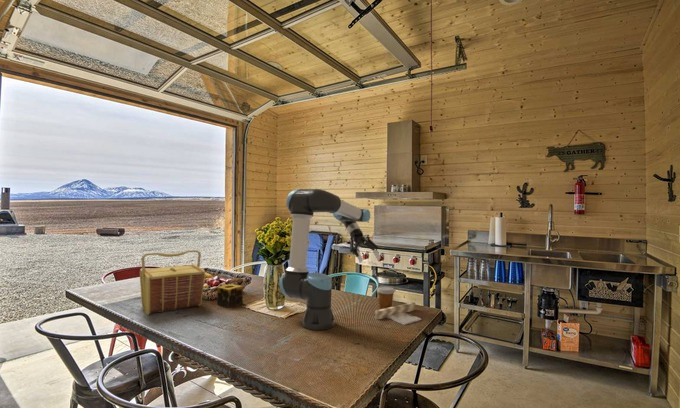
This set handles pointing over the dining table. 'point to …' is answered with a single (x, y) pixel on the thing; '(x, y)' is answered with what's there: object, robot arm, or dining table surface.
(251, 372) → the dining table surface
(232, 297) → the candle
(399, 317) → the white napkin
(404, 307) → the jamb strip
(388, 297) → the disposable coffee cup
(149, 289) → the picnic basket
